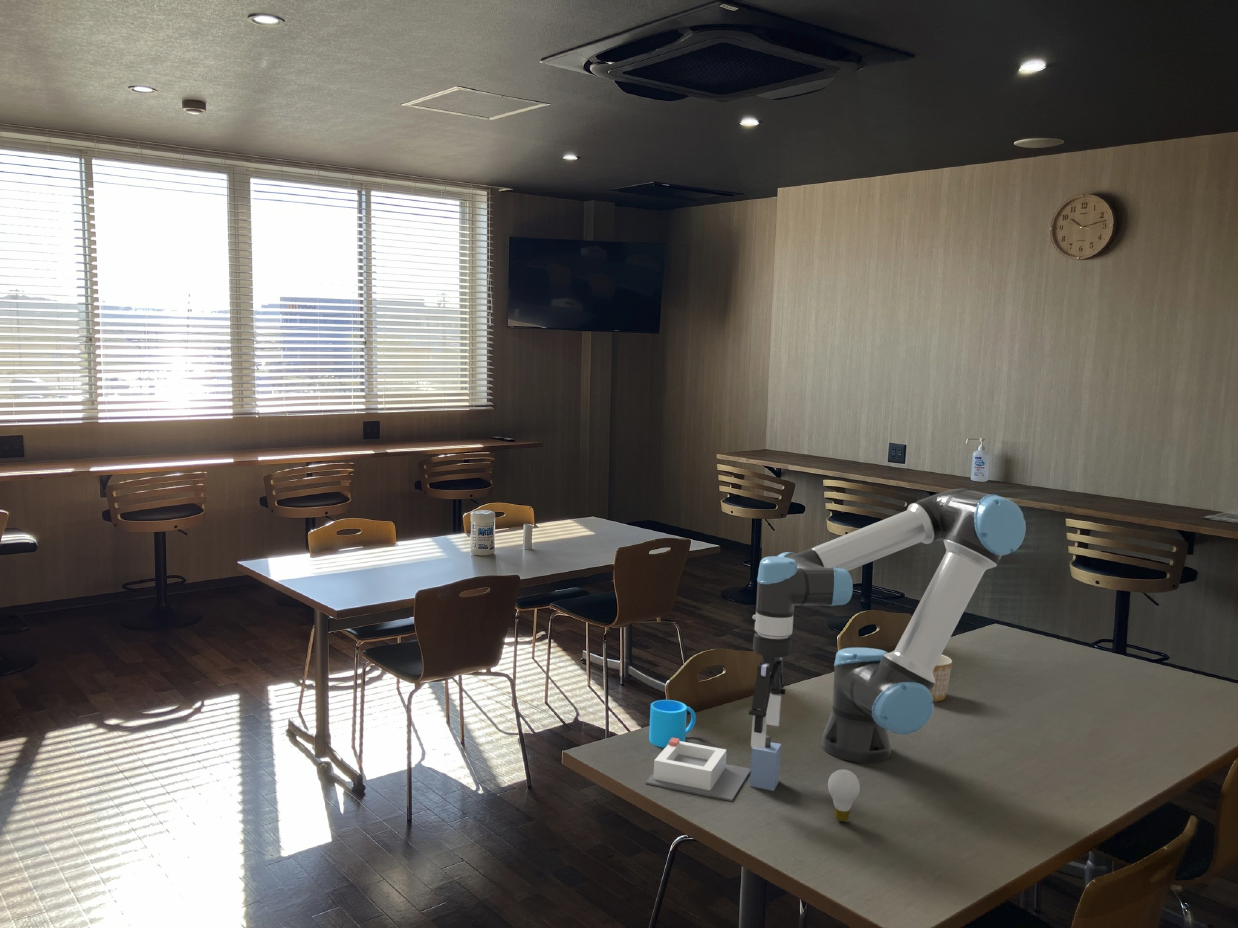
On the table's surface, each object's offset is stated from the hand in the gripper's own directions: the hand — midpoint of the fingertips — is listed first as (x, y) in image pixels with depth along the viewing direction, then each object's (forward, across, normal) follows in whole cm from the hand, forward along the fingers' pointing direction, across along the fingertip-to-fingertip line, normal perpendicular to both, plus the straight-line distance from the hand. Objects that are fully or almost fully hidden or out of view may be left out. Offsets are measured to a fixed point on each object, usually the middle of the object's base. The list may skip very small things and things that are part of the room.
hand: (765, 735), depth 195 cm
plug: (+10, 0, 0) cm, 10 cm away
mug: (+11, -14, -24) cm, 30 cm away
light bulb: (+10, +10, +18) cm, 22 cm away
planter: (+9, -73, +28) cm, 79 cm away
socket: (+10, +3, -12) cm, 16 cm away
